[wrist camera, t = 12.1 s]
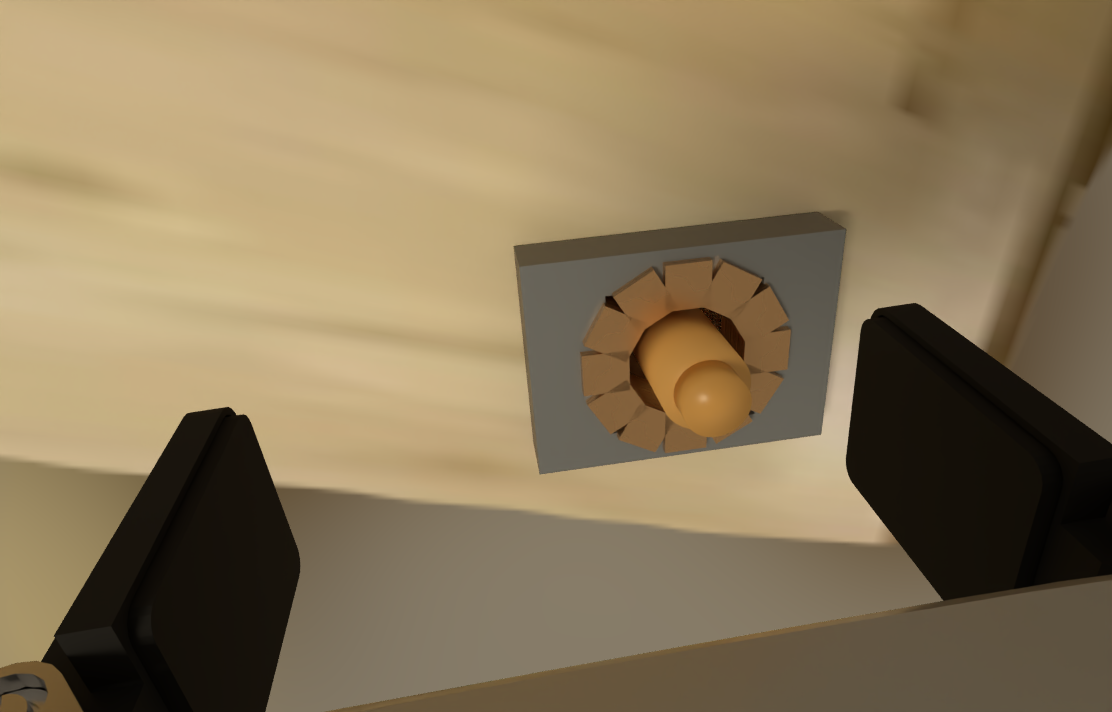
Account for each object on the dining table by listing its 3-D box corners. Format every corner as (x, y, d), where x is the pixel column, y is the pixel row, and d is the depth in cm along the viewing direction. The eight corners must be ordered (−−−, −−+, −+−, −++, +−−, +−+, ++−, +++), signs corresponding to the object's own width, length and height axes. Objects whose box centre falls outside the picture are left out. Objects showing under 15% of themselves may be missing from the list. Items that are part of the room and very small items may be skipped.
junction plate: (817, 212, 38) (846, 229, 35) (797, 407, 43) (821, 434, 41) (513, 246, 36) (519, 266, 34) (533, 443, 42) (539, 474, 39)
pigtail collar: (769, 228, 38) (798, 250, 35) (756, 404, 43) (781, 436, 40) (565, 251, 37) (576, 276, 34) (577, 428, 42) (588, 464, 39)
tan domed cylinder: (707, 291, 39) (767, 358, 32) (705, 363, 41) (761, 440, 34) (627, 301, 39) (670, 371, 32) (630, 373, 41) (670, 454, 34)
